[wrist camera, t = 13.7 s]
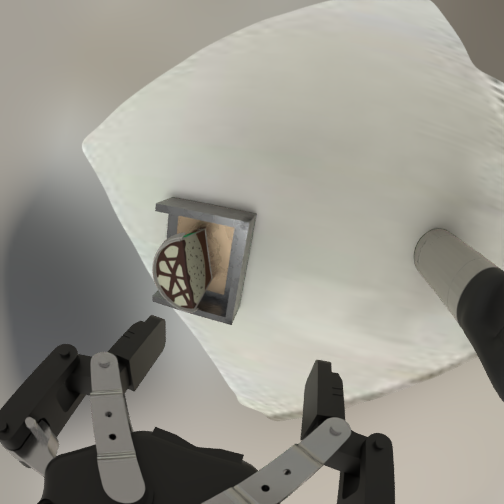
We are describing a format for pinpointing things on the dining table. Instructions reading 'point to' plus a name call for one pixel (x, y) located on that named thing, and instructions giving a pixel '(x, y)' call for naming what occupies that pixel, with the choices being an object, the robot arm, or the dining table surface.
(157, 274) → the food container
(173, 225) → the keeper cradle
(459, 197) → the dining table surface
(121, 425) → the robot arm
